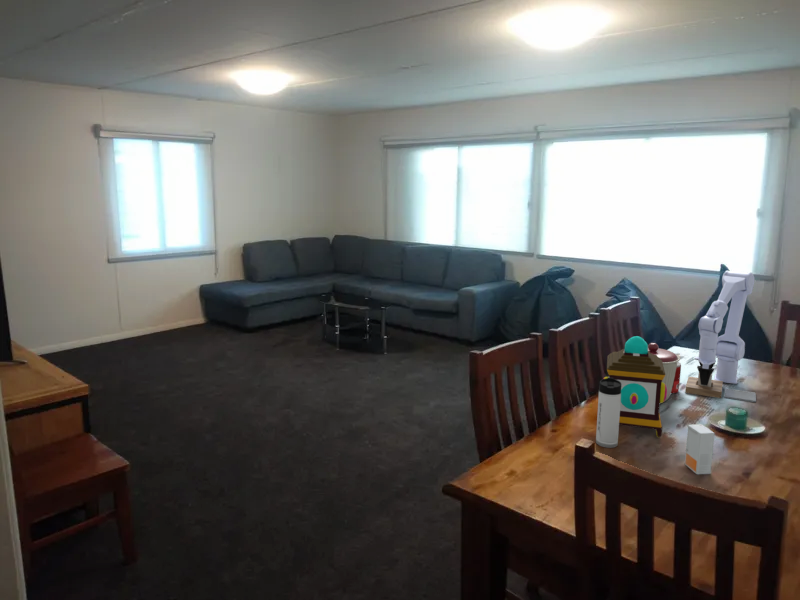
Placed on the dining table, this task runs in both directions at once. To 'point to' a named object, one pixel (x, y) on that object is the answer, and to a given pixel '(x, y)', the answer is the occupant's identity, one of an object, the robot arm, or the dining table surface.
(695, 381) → the pocket board
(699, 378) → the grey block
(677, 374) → the canned food
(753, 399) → the coaster
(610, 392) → the travel mug
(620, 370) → the decorative lantern
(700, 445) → the skincare box
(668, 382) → the canister
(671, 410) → the dining table surface
